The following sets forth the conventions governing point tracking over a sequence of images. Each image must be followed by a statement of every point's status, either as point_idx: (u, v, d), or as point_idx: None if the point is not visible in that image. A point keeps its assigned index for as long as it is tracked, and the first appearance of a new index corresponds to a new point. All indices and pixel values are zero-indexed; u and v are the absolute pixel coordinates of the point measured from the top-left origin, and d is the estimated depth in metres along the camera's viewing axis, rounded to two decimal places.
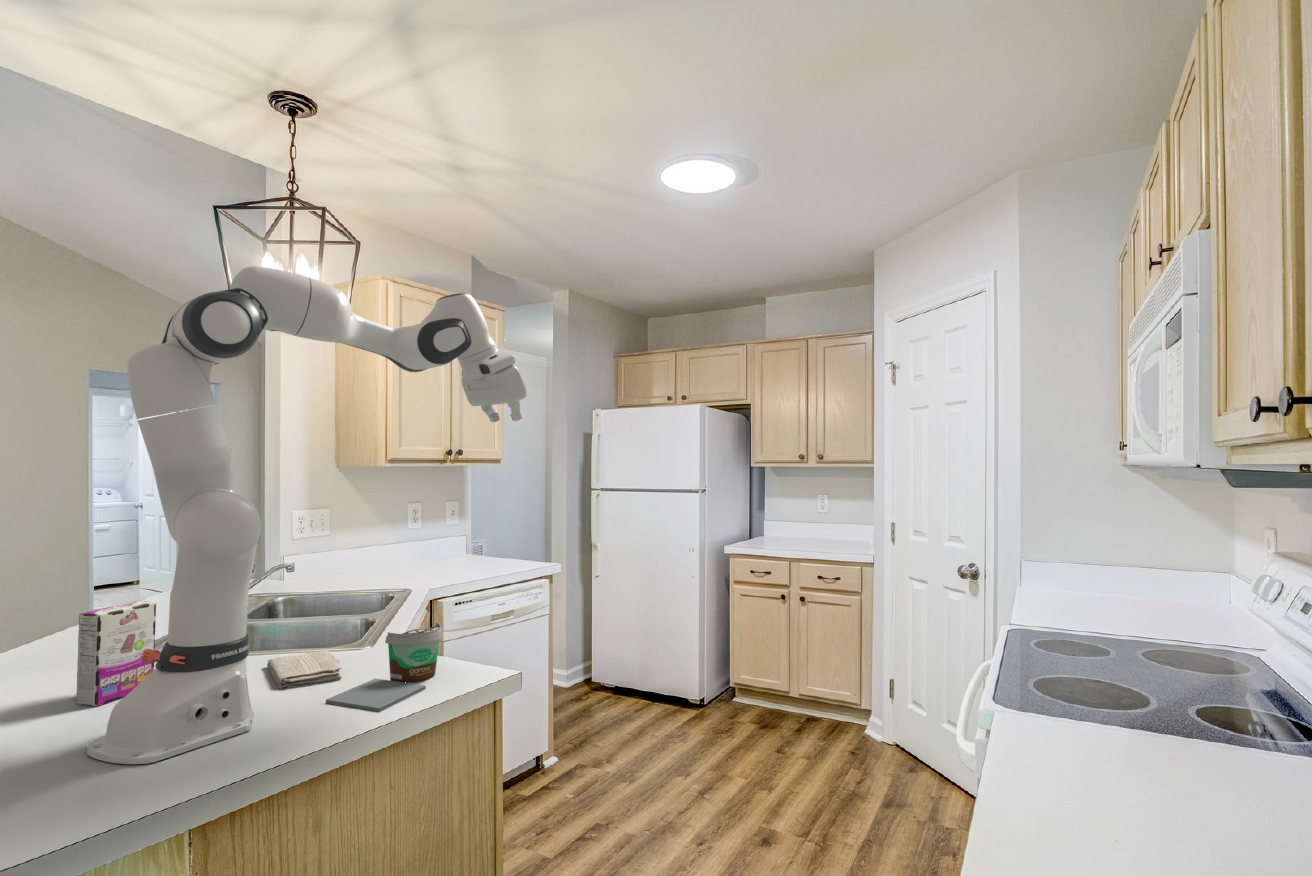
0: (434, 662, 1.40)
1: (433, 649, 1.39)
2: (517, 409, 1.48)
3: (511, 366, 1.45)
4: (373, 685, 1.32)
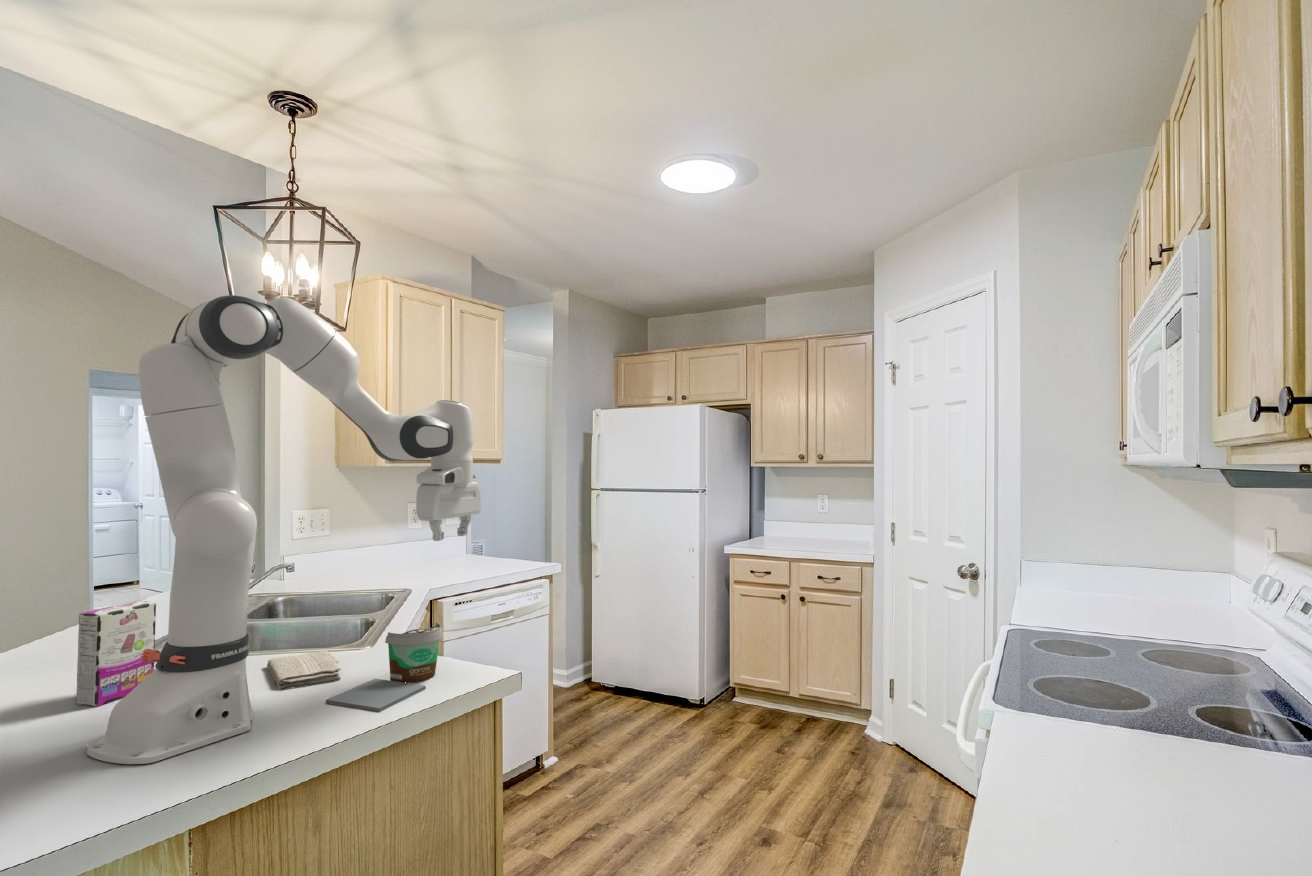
0: (434, 662, 1.40)
1: (433, 649, 1.39)
2: (436, 529, 1.42)
3: (436, 485, 1.40)
4: (373, 685, 1.32)
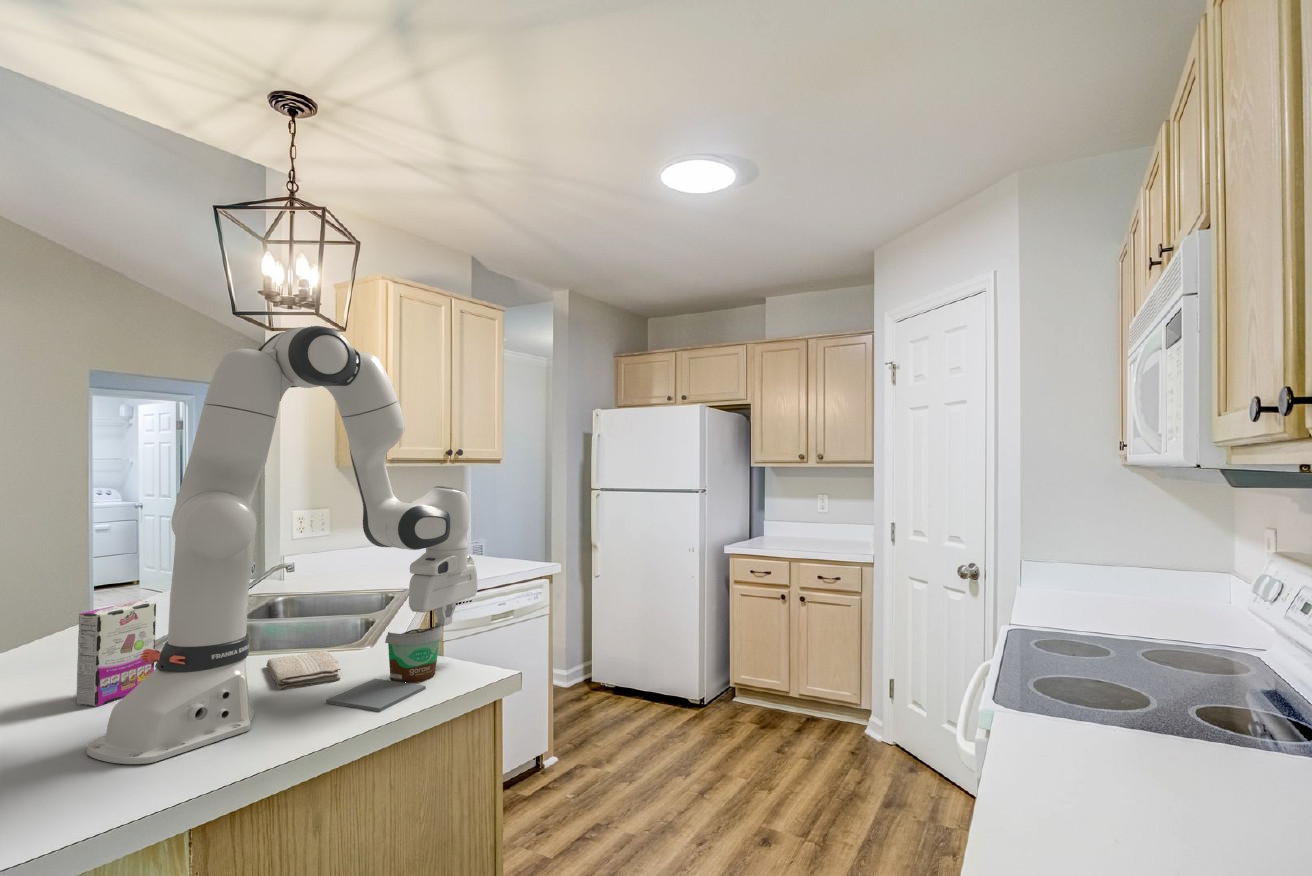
0: (434, 662, 1.40)
1: (433, 649, 1.39)
2: (440, 615, 1.45)
3: (429, 576, 1.38)
4: (373, 685, 1.32)
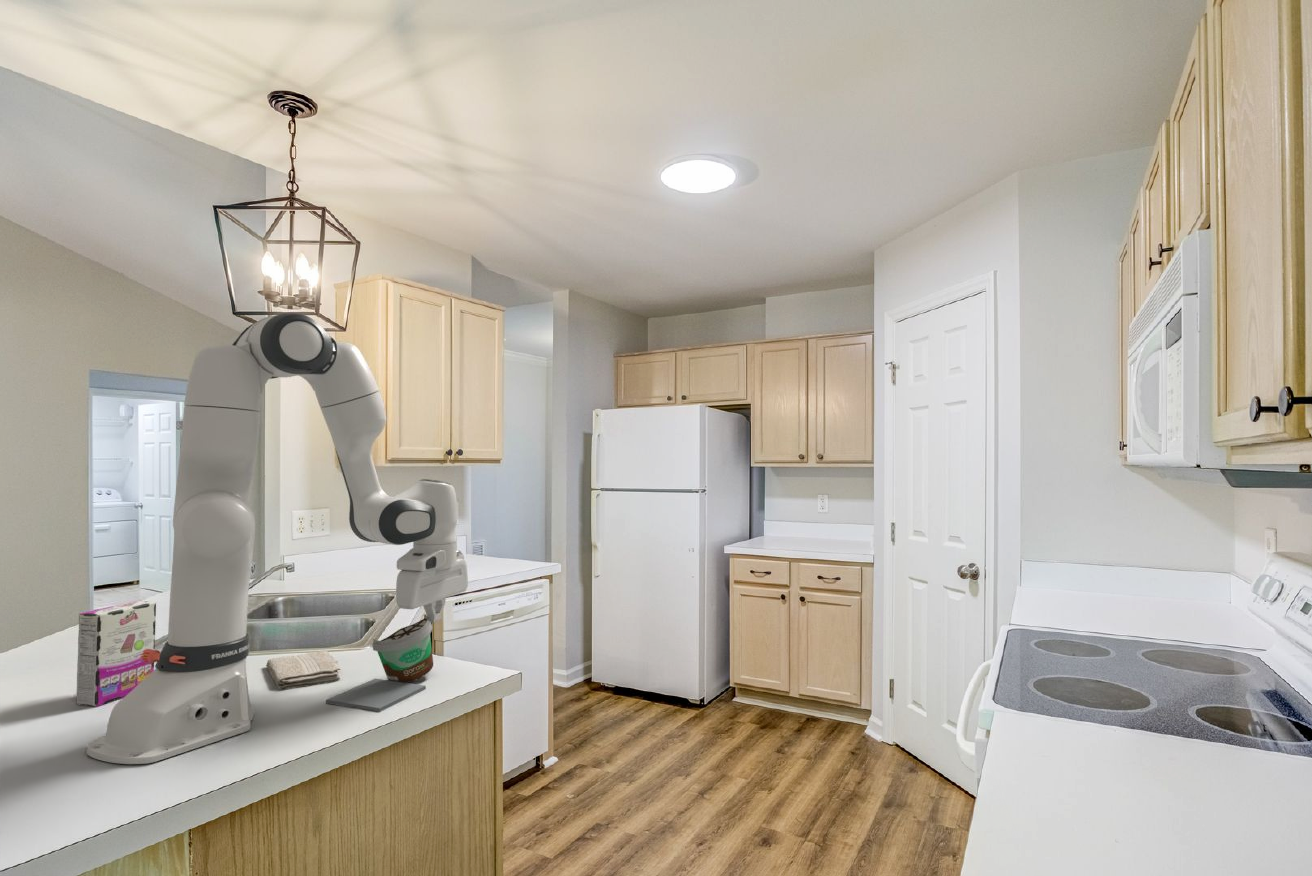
0: (428, 656, 1.38)
1: (424, 646, 1.36)
2: (430, 611, 1.41)
3: (417, 572, 1.34)
4: (373, 685, 1.32)
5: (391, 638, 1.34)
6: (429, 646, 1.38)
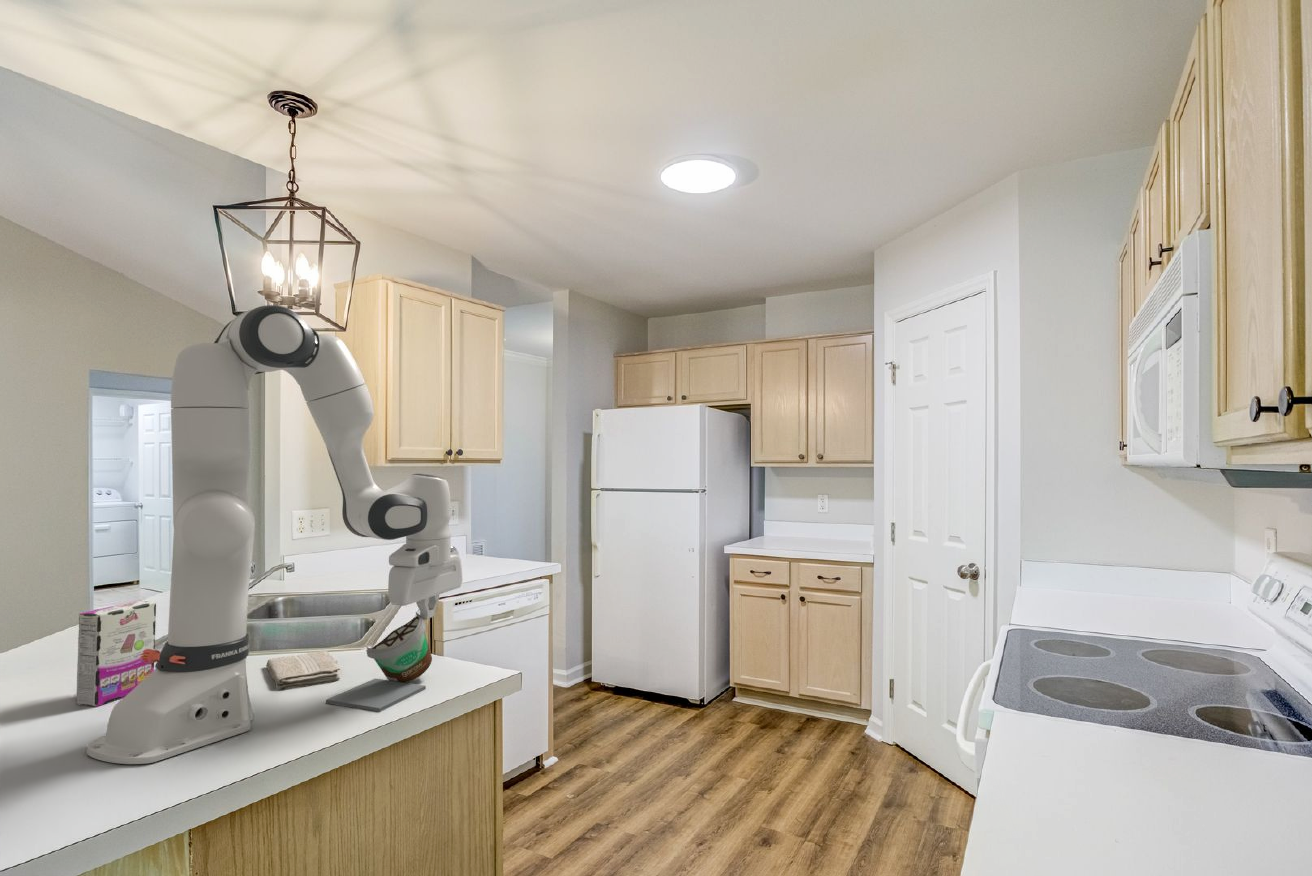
0: (425, 655, 1.36)
1: (419, 647, 1.34)
2: (423, 608, 1.38)
3: (409, 568, 1.32)
4: (373, 685, 1.32)
5: (384, 643, 1.32)
6: (425, 644, 1.37)
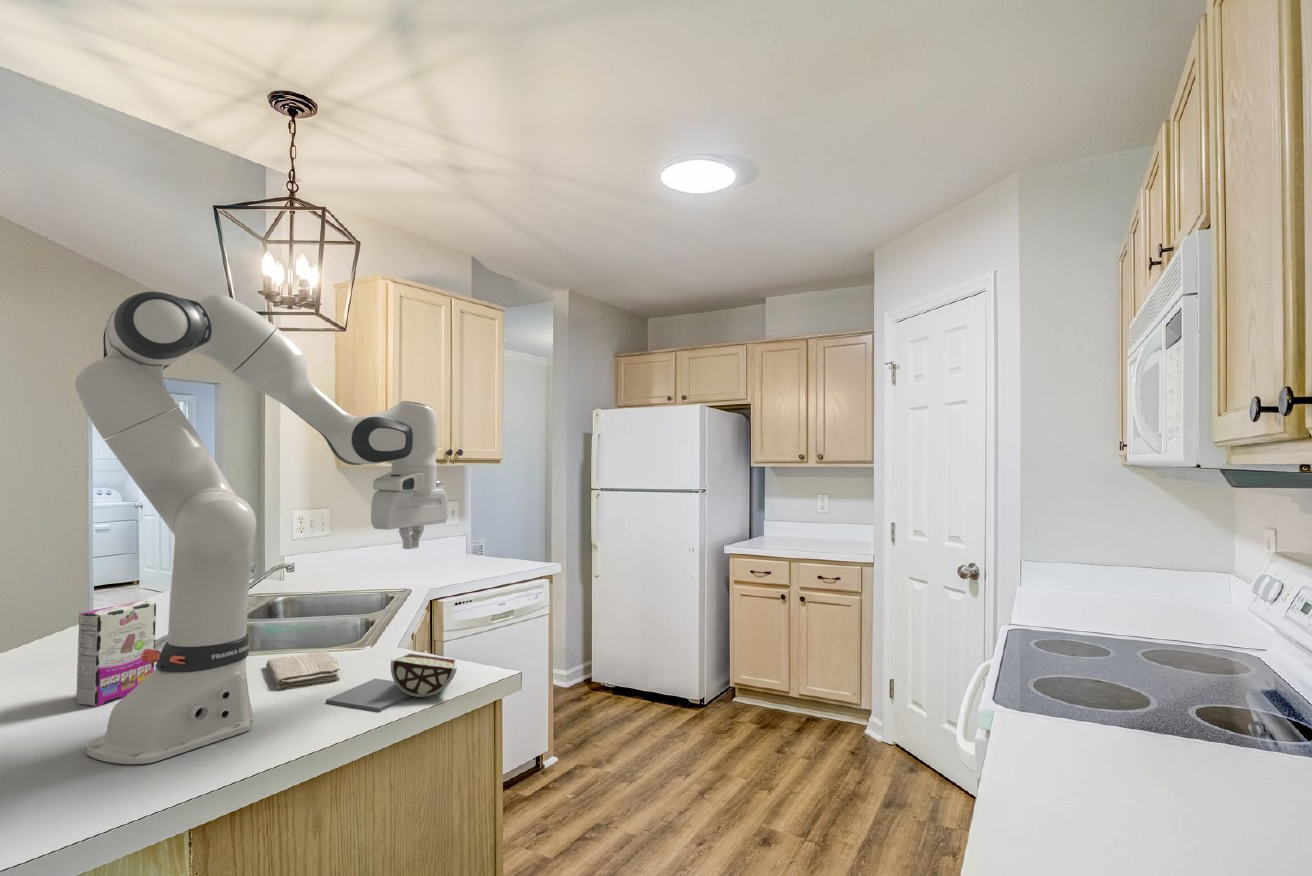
0: None
1: None
2: (406, 537, 1.36)
3: (393, 492, 1.30)
4: (373, 685, 1.32)
5: (406, 671, 1.27)
6: None
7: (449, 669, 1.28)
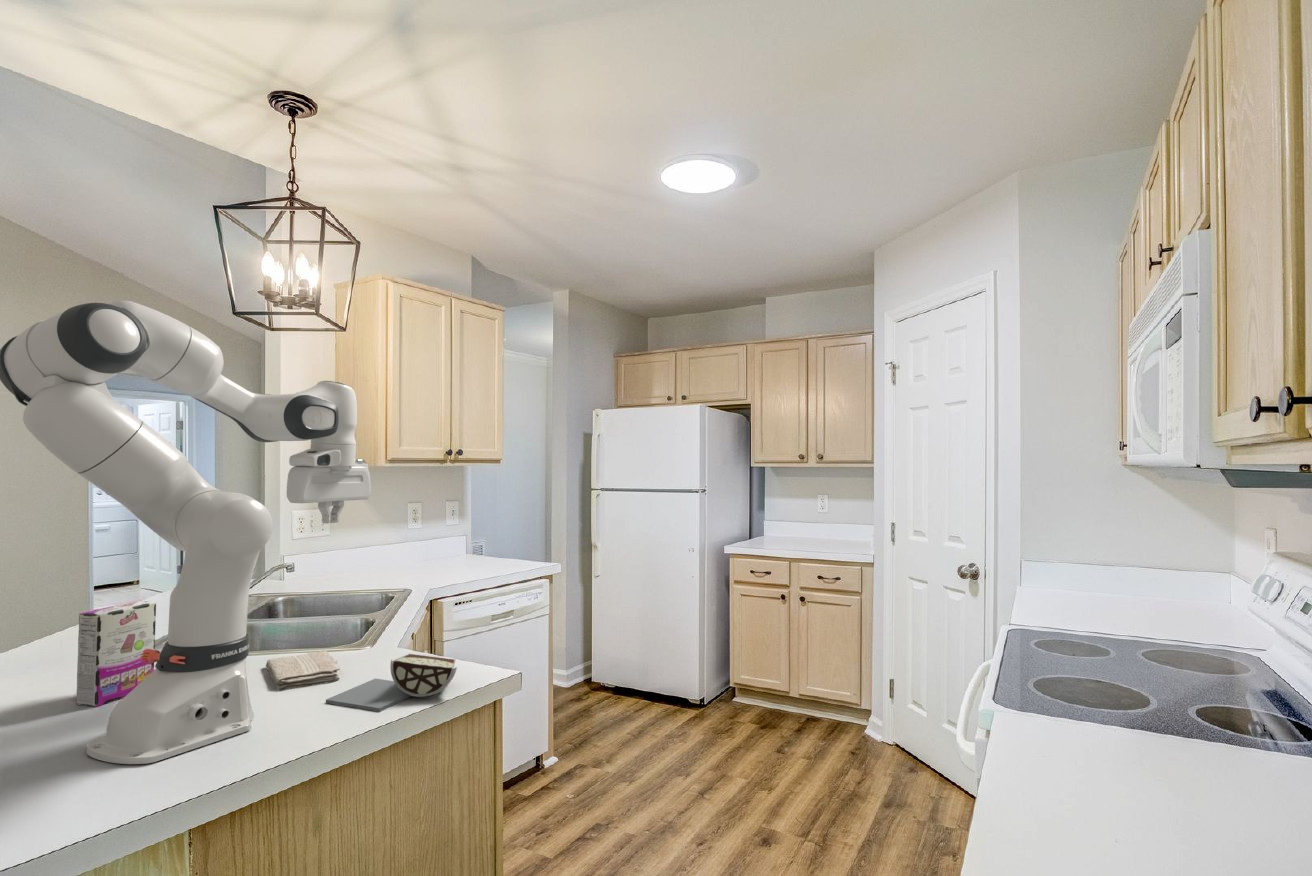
0: None
1: None
2: (324, 512, 1.42)
3: (308, 467, 1.36)
4: (373, 685, 1.32)
5: (406, 671, 1.27)
6: None
7: (449, 669, 1.28)
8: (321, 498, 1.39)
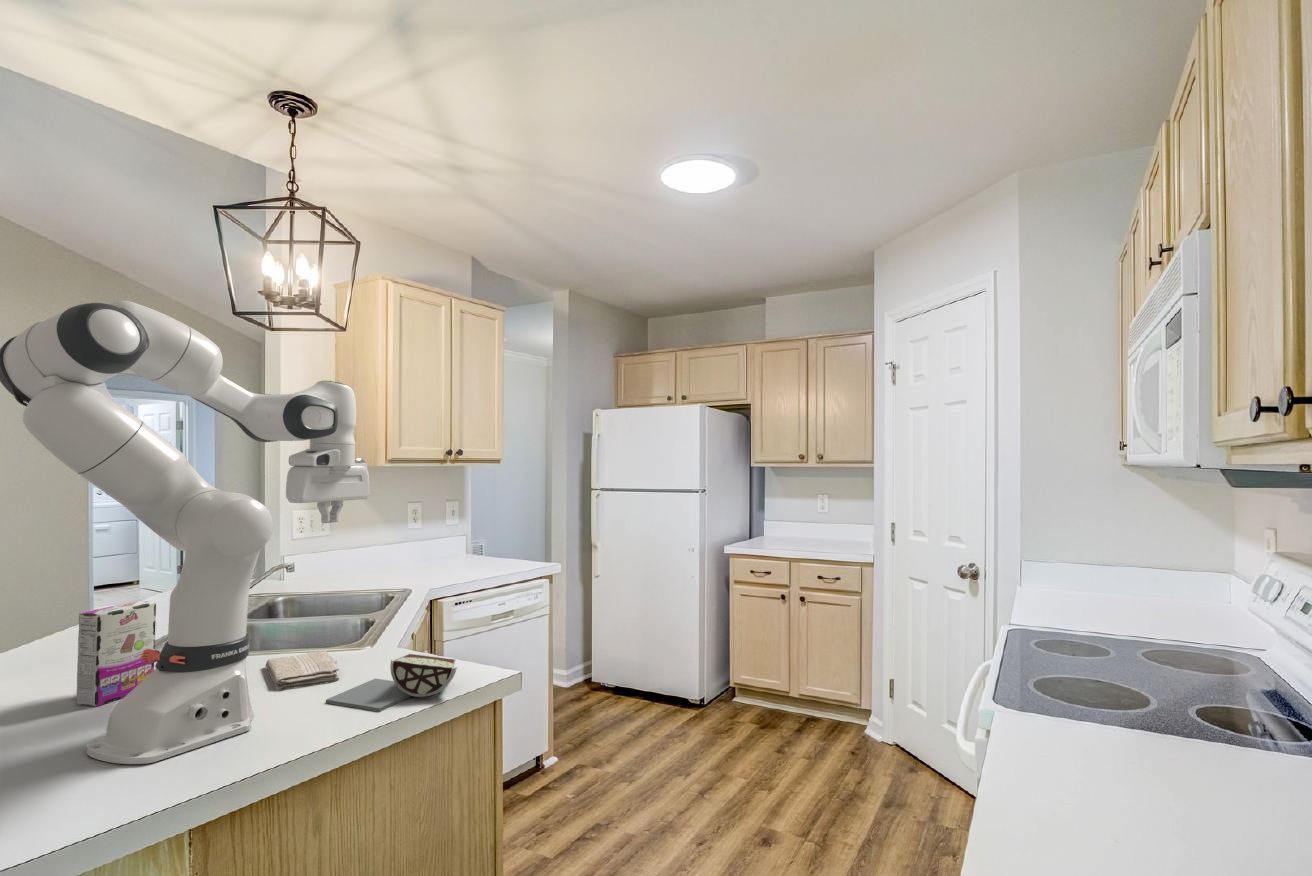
0: None
1: None
2: (324, 511, 1.42)
3: (307, 467, 1.36)
4: (373, 685, 1.32)
5: (406, 671, 1.27)
6: None
7: (449, 669, 1.28)
8: (320, 498, 1.39)
